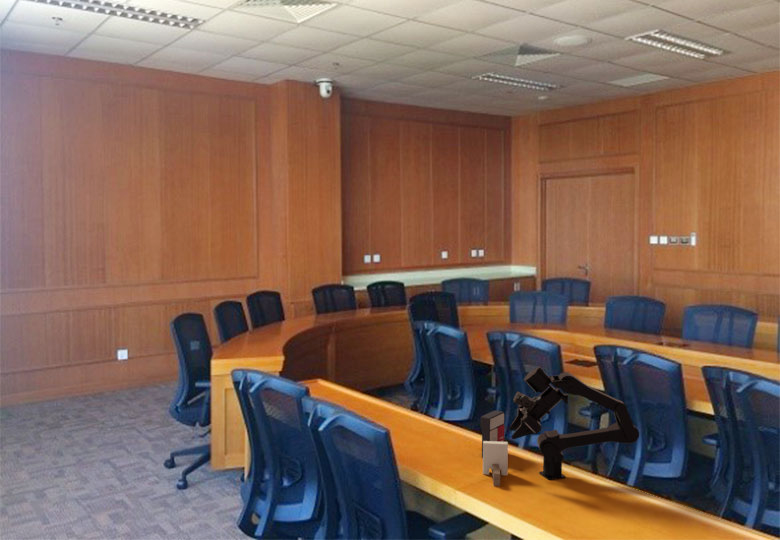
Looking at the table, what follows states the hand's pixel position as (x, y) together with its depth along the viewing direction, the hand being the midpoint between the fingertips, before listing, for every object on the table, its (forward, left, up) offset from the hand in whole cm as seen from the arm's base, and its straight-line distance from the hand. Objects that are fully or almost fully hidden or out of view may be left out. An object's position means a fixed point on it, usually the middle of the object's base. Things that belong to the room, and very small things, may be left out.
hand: (511, 433), depth 220 cm
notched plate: (+2, +5, -14) cm, 15 cm away
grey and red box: (+19, -3, -14) cm, 23 cm away
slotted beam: (+2, +5, -14) cm, 15 cm away
